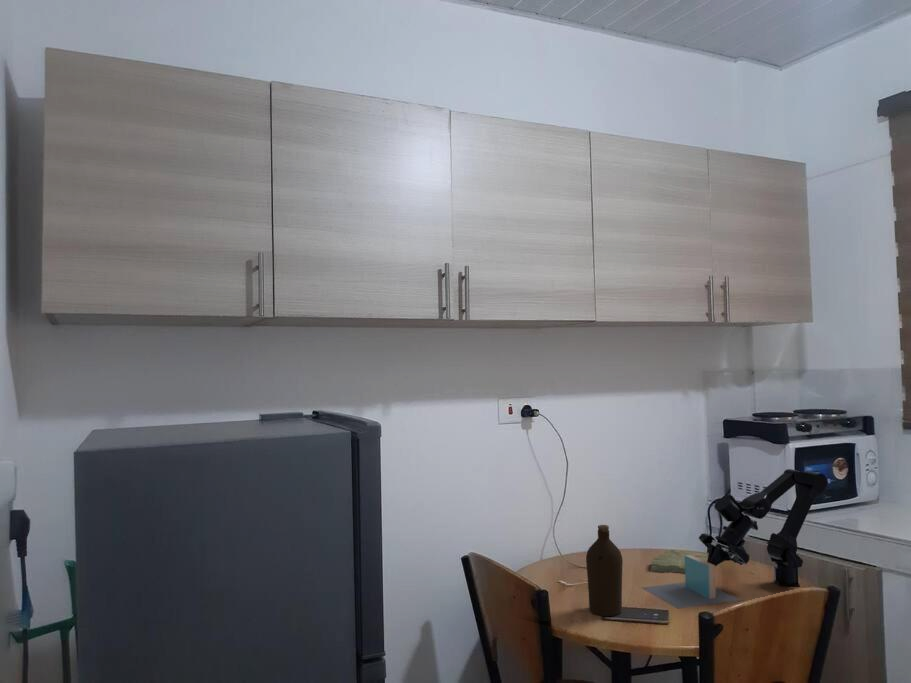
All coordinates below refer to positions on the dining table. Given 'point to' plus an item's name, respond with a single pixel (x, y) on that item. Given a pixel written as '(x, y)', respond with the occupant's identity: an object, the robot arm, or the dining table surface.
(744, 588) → the dining table surface
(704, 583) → the tile
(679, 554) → the decorative tile
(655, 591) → the mat
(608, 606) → the olive oil
